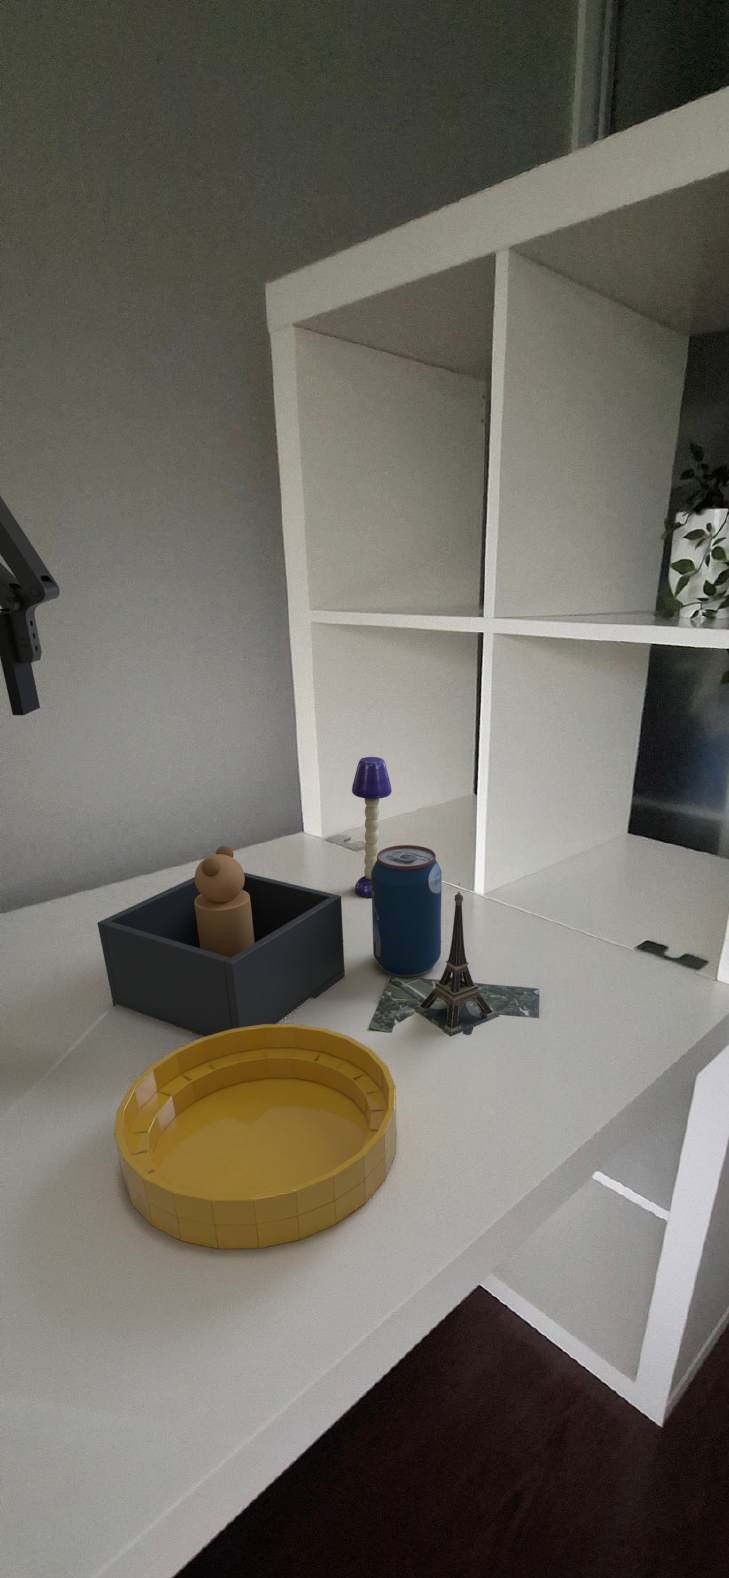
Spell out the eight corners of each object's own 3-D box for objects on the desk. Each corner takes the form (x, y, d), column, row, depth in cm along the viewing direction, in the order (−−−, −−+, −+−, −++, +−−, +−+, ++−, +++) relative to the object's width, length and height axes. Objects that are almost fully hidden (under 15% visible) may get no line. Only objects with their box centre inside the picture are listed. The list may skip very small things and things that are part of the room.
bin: (113, 1006, 75) (96, 922, 71) (226, 940, 87) (217, 865, 84) (241, 1054, 68) (231, 963, 65) (345, 975, 81) (341, 895, 77)
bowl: (65, 1185, 55) (51, 1133, 53) (249, 1045, 70) (244, 1001, 68) (288, 1303, 46) (282, 1246, 44) (442, 1115, 61) (443, 1067, 59)
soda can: (454, 961, 83) (456, 853, 78) (411, 987, 79) (410, 874, 73) (403, 942, 87) (402, 837, 82) (359, 965, 82) (355, 856, 77)
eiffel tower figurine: (542, 993, 78) (552, 864, 72) (537, 1053, 69) (549, 911, 63) (390, 980, 80) (388, 854, 74) (367, 1036, 71) (362, 898, 65)
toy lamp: (395, 885, 101) (394, 754, 94) (389, 900, 97) (386, 765, 90) (358, 883, 102) (354, 753, 95) (350, 897, 98) (345, 763, 91)
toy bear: (196, 994, 76) (178, 861, 70) (217, 968, 80) (201, 841, 74) (247, 998, 75) (233, 864, 69) (265, 973, 79) (253, 844, 74)
